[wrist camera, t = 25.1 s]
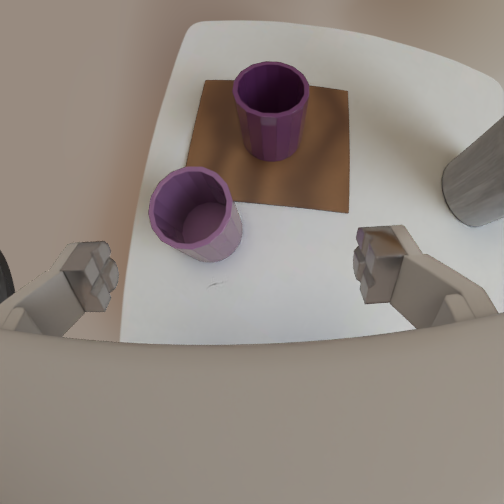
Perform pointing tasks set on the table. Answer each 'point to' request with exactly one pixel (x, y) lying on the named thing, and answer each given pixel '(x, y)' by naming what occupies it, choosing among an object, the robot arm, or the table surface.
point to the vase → (478, 179)
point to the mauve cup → (196, 214)
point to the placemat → (285, 171)
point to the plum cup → (271, 109)
